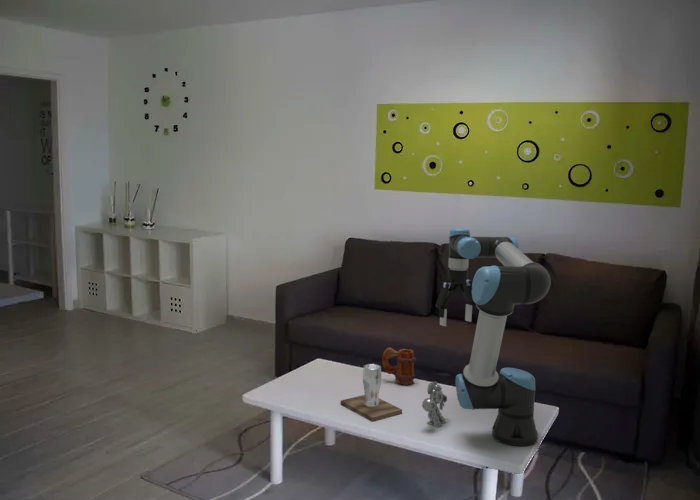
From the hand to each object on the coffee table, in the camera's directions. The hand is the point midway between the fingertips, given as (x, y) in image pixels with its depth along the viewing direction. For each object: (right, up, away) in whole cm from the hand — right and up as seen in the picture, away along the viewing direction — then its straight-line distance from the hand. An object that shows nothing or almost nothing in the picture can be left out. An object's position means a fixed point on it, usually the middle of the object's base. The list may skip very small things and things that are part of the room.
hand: (455, 323), depth 246 cm
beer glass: (-33, -31, -4) cm, 45 cm away
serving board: (-33, -32, -4) cm, 46 cm away
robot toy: (-11, -34, -18) cm, 40 cm away
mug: (-20, -28, +26) cm, 43 cm away
